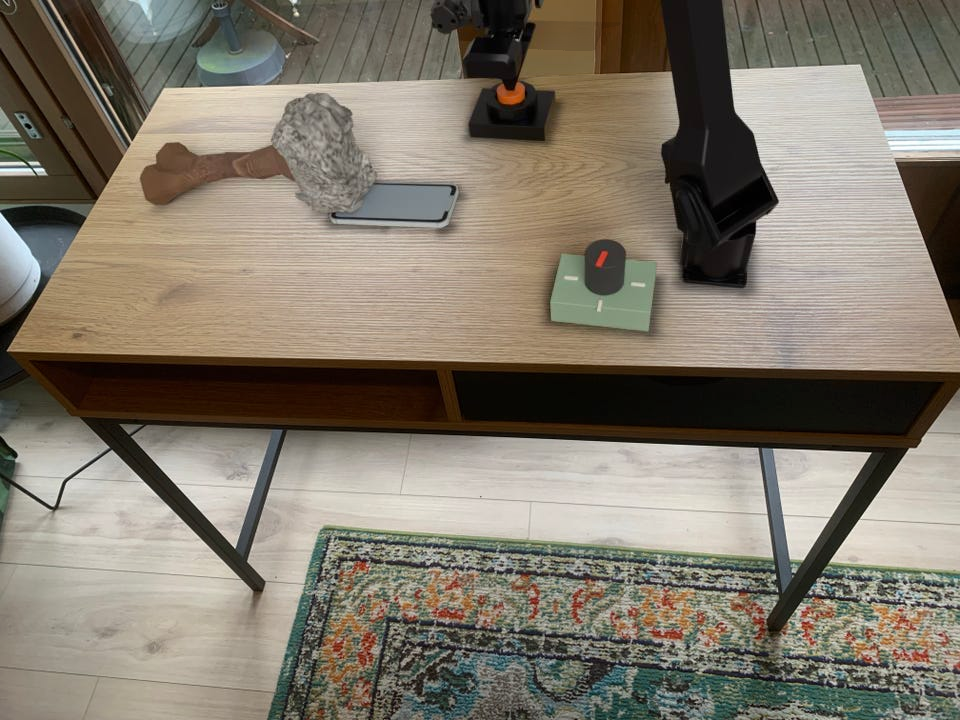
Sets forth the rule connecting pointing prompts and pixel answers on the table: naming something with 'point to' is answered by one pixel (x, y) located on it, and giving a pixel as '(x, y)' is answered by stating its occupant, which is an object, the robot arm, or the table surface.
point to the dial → (604, 267)
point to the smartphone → (403, 205)
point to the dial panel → (603, 296)
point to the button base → (513, 115)
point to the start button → (511, 94)
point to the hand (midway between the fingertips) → (510, 89)
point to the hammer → (279, 160)
